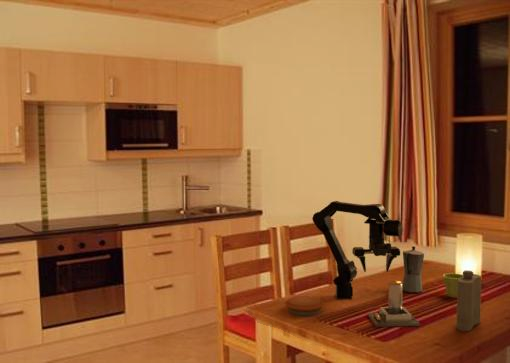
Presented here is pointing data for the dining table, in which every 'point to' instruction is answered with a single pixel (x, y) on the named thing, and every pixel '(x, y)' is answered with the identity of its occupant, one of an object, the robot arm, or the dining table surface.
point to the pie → (304, 305)
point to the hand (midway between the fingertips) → (375, 271)
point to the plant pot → (451, 284)
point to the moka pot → (412, 270)
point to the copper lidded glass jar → (395, 297)
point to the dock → (393, 318)
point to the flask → (468, 301)
